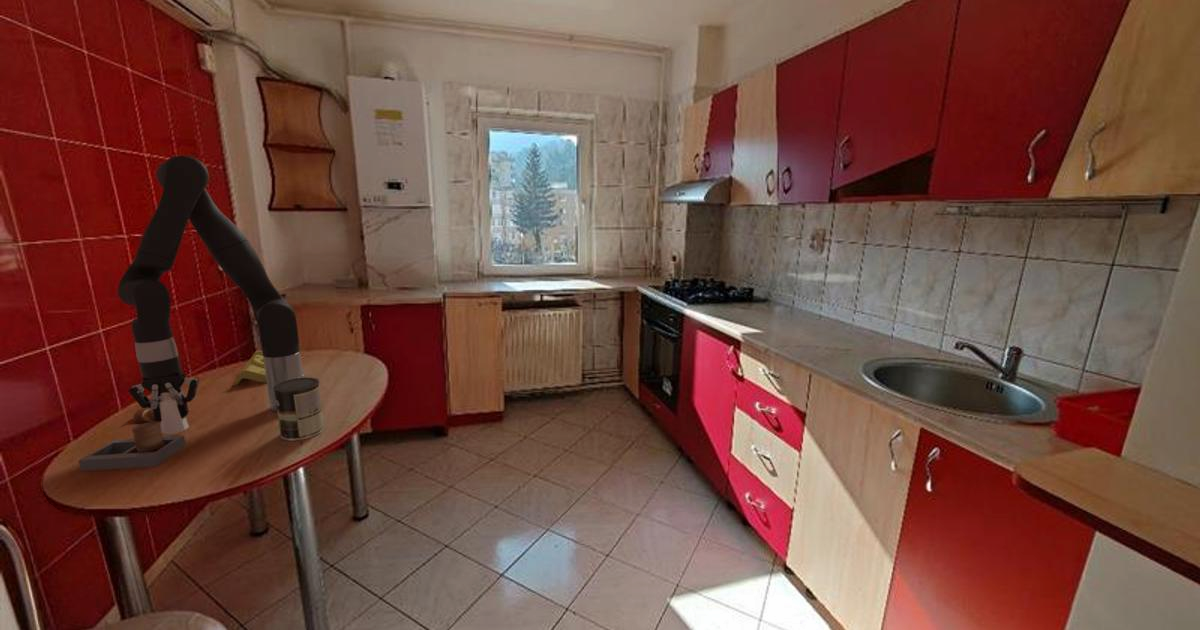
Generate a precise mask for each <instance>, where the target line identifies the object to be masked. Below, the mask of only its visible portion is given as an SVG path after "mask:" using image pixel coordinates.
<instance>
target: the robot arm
mask: <svg viewBox="0 0 1200 630" xmlns="http://www.w3.org/2000/svg"><path fill="white" fill-rule="evenodd" d="M156 169H157V170H156V173H155V174H156V179H157V181H158V183H159V185H160V186H161V188H162V193H161V197H160V199H159V202H158V205H157V207H156V209H155V212H154V214H153V215H152V217H151V218H150V221H149V222H148V224H147V226H146V228H145V230H144V232H143V234H142V237H141V239H140V242H139V244H138V247H137V251H136V254H135V257H134V259H133V260H132V262H131V263H130V265H129V266H128V268H127V269H126V271H125V272H124V274H123V275H122V277H121V278H120V281H119V283H118V287H117V294H118V295H117V296H118V298H119V300H121V302H123V303H124V304H126V305H129V306H133V307H135V309H136V311H135V312H136V317H135V318H134V319H133V320H132V321H131V331H132V334H133V339H134V340H133V341H134V344H135V354H136V357H135V358H136V360H137V362H138V367H139V370H140V375H141V379H142V381H141V383H139V384H134V385H133V386H131V387H129V389H128V393H130V395H131V397H133V399H134V400H135V401H136V402H137V404H138V405H139V406H140V407H141V408H151V409H153V413H154V417H155V419H156V420H158V421H159V422H160V423H161V421H162V420H161V413H160V408H159V402H160V401H162V400H161V397H160V396H161V395H160V394H161V393H165V392H169V393H170V394H171V395H172V397H173V398H174V399H175V400H176V402H177V403H178V410H179V413H180V416H181V418H185V417H186V418H187V416H188V414H189V408H188V407H189V406H188V403H189V402H191V401H193V399H195V397H196V394H197V389H198V386H199V381H200V378H199V377H197V376H196V377H194V378H193V377H186V375H185V374H184V373H183V370H182V369H183V368H182V365H181V364H182V363H181V361H180V356H179V352H178V347H177V344H176V340H175V338H174V335H173V330H172V327H171V322H170V317H171V308H172V307H171V303H172V301H171V300H172V299H171V294H170V291H169V289H168V287H167V285H165V284H164V283H163V282H161V281H160V279H161V277H162V275H163V274H164V273H167V272H169V271H170V270H171V269H172V268H173V266H174V264H175V261H176V258H177V255H178V252H179V248H180V246H181V243H182V239H183V236H184V233H185V230H186V227H187V224H188V221H189V222H190V223H191V225H192V227H193V228H194V230H195V231H196V233H197V235H198V236H199V238H200V239H201V241H202V242H203V244H204V245H205V247H206V249H207V250H208V251H209V253H210V254H211V256H212V257H213V259H214V260H215V261H216V263H217V265H218V266H219V267H220V269H221V270H222V271H223V272H224V273H225V275H226V276H227V277H228V278H229V279H230V280H231V281H232V282H233V283H234V284H235V285H236V286H237V287H238V288H239V289H240V290H241V291H242V292H243V294H244V295H245V297H246V298H247V300H248V302H249V304H250V305H251V307H252V309H253V311H254V313H255V315H256V318H257V324H258V325H257V326H258V330H259V331H258V332H259V338H260V345H261V351H262V353H263V360H264V366H265V373H266V379H267V383H266V384H267V393H268V397H269V404H270V410H271V411H272V412H274V413H277V406H276V399H275V392H274V389H273V387H274V386H275V385H277V384H279V383H281V382H283V381H287V380H290V379H296V378H307V374H306V373H305V372H304V373H303V366H302V360H301V359H302V358H301V353H300V339H299V331H298V322H297V316H296V315H297V314H296V312H295V311H294V309H293V307H292V305H290V304H289V303H288V302H287V300H286V299H285V298H284V297H283V296H282V295H281V293H280V292H279V291H278V290H277V288H276V287H275V286H274V284H273V283H272V281H271V280H270V278H269V276H268V274H267V271H266V269H265V268H264V265H263V263H262V262H261V259H260V257H259V256H258V254H257V252H256V250H255V249H254V247H253V246H252V244H251V243H250V241H249V240H248V239H247V237H246V236H245V234H244V233H243V231H241V230H240V228H239V227H238V226H237V225H236V224H235V223H233V222H232V220H230V218H228V217H227V216H226V215H225V214H224V213H223V212H222V211H221V210H220V209H219V208H218V207H217V205H216V204H215V202H214V201H213V199H212V197H211V195H210V193H208V191H207V189H206V187H207V186H208V184H209V182H210V174H209V171H208V168H207V167H206V165H205V164H204V163H202V161H200V160H199V159H197V158H195V157H193V156H190V155H175V156H172V157H170V158H167V159H166V160H165V161H163V162H162V163H160V164H159V166H158V167H157V168H156ZM184 383H185V384H186V387H188V390H187V393H186V394H187V395H185V394H184V390H183V388H182V386H183V384H184ZM145 390H147V391H148V392H150V393H151V396H150V398H149V397H148V396H147V395H146V393H145V392H144V391H145Z"/></svg>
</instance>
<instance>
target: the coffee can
mask: <svg viewBox="0 0 1200 630" xmlns="http://www.w3.org/2000/svg"><path fill="white" fill-rule="evenodd" d="M273 389H274V392H275V399H276V406H277V412H276V413H277V417H278V419H277V420H278V427H279V432H280V438H281V439H282V440H283V441H288V442H296V441H303V440H308V439H310V438H314V437H315V436H318V435H319V434H321V433H322V432H323V431H324V430H325V424H324V416H323V409H322V402H321V401H322V400H321V393H320V381H319V379H318V378H315V377H306V378H296V379H290V380H287V381H283V382H281V383H279V384H277V385H275V386H274V387H273Z"/></svg>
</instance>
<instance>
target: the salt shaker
mask: <svg viewBox="0 0 1200 630" xmlns="http://www.w3.org/2000/svg"><path fill="white" fill-rule="evenodd" d="M160 395H161V396H160V397H161V401H160V402H159V408H160V413H161V420H162V421H161V422H160V426H161V430H162V435H163V434H164V435H167V436H168V435H174V434H175V435H176V434H178V433H181V432H183V431H186V430H187V429H188V428H190V426H189V423H188V420H187V416H186V417H185V418H181V416H180V413H179V410H178V403H177V402H176V400H175V399H174V398H173V397H172V395H171V394H170V393H169V392H165V393H161V394H160Z"/></svg>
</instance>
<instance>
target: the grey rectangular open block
mask: <svg viewBox="0 0 1200 630" xmlns="http://www.w3.org/2000/svg"><path fill="white" fill-rule="evenodd" d="M163 440H164V445H165V446H164V447H162V448H161V449H159V450H158V451H156V452H145V453H137V449H136V444H135V440H134V437H133V438H120V439H119V438H117V439H114V440H112V441H110V442H109V443H106V444H105V445H103V446H101V447H100V448H98V449H96V450H94V451H92V452H91V453H89V454H88V455H85V456H84V457H82V458H80V459H78V464H79V469H80V472H90V471H93V472H94V471H107V470H120V469H121V470H122V469H123V470H124V469H135V468H153V467H155V468H156V467H157V466H159V465H160V464H162V463H163V462H164V461H166V460H168V459H169V458H170V457H172V456H173V455H174V454H176V453H178V452H179V451H180V450H182V449H183V448H184V447H186V446H187V444H186V443H187V442H186V439H185V435H171V436H170V435H169V436H168V435H167V436H163Z"/></svg>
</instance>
